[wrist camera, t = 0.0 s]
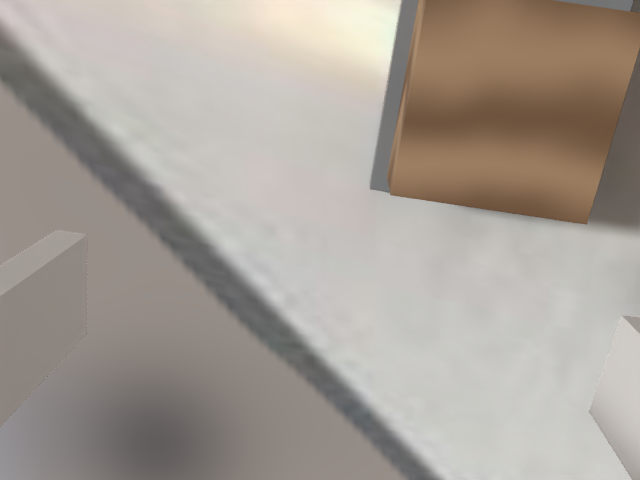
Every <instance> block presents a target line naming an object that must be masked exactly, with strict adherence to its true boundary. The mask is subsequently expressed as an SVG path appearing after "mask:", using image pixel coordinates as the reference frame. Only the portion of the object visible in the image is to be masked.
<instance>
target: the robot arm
mask: <svg viewBox="0 0 640 480" xmlns="http://www.w3.org/2000/svg"><path fill="white" fill-rule="evenodd" d="M87 251H88V235H87V234H81V233H74V232H67V231H61V230H56V231H54V232H53V233H51V234H49V235H48V236H46V237H45V238H43V239H41V240H40V241H38V242H36V243H35V244H33V245H32V246H30V247H28V248H27V249H25V250H24V251H22V252H20V253H19V254H17V255H15V256H14V257H12V258H11V259H9V260H7V261H6V262H4V263H3V264H1V265H0V427H1V426H2V425H3V423H4V422H5V421H6V420H7V419H8V418H9V417H10V416H11V415H12V414H13V413H14V412H15V411H16V410H17V408H18V407H19V406H20V405H21V404H22V403H23V402H24V401H25V400H26V399H27V398H28V397H29V396H30V395H31V393H32V392H33V391H34V390H35V389H36V388H37V387H38V386H39V385H40V384H41V383H42V382H43V381H44V379H45V378H46V377H47V376H48V375H49V374H50V373H51V372H52V371H53V370H54V368H55V367H57V365H58V364H59V363H60V362H61V361H62V360H63V359H64V358H65V357H66V356H67V355H68V354H69V353H70V352H71V350H72V349H73V348H74V347H75V346H76V345H77V344H78V343H79V342H80V341H81V340H82V339H83V338H84V337H85V335H86V334H87V253H88V252H87ZM589 412H590V414H591V415H592V417H593V418H594V420H595V422H596V423H597V425H598V426H599V428H600V430H601V431H602V433H603V434H604V436H605V437H606V439H607V441H608V442H609V444H610V445H611V447H612V449H613V450H614V452H615V453H616V455H617V456H618V458H619V460H620V461H621V463H622V464H623V466H624V468H625V469H626V471H627V472H628V474H629V475H630V477H631V479H632V480H640V318H637V317H630V316H623V315H621V318H620V321H619V324H618V327H617V330H616V333H615V336H614V339H613V342H612V345H611V348H610V350H609V353H608V356H607V359H606V362H605V365H604V368H603V371H602V374H601V377H600V380H599V383H598V386H597V389H596V392H595V395H594V398H593V401H592V404H591V407H590V409H589Z"/></svg>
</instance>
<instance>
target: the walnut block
mask: <svg viewBox="0 0 640 480" xmlns="http://www.w3.org/2000/svg"><path fill="white" fill-rule="evenodd" d="M639 49H640V13H638V12H631V11H624V10H617V9H610V8H603V7H596V6H589V5H582V4H575V3H568V2H561V1H555V0H418V5H417V11H416V16H415V22H414V27H413V33H412V39H411V44H410V50H409V55H408V61H407V67H406V72H405V78H404V83H403V89H402V95H401V100H400V106H399V111H398V117H397V123H396V128H395V134H394V139H393V145H392V150H391V156H390V162H389V167H388V173H387V181H388V185H389V190H390V194H391V195H393V196H400V197H407V198H414V199H420V200H427V201H434V202H440V203H447V204H454V205H460V206H467V207H474V208H481V209H487V210H494V211H501V212H507V213H514V214H521V215H527V216H534V217H541V218H548V219H554V220H561V221H568V222H574V223H581V224H587V222H588V218H589V215H590V212H591V208H592V205H593V202H594V198H595V195H596V192H597V188H598V185H599V182H600V178H601V175H602V172H603V168H604V165H605V162H606V158H607V155H608V152H609V148H610V145H611V142H612V138H613V135H614V132H615V128H616V125H617V122H618V118H619V115H620V112H621V108H622V105H623V102H624V99H625V95H626V92H627V89H628V85H629V82H630V79H631V75H632V72H633V69H634V65H635V62H636V59H637V55H638V52H639Z"/></svg>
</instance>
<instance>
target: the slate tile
mask: <svg viewBox="0 0 640 480" xmlns="http://www.w3.org/2000/svg"><path fill="white" fill-rule="evenodd" d="M555 1H561V2H568V3H575V4H582V5H589V6H596V7H603V8H610V9H617V10H624V11H631V7H632V4H633V0H555ZM417 5H418V0H401V3H400V9H399V15H398V21H397V27H396V33H395V39H394V45H393V51H392V56H391V62H390V68H389V74H388V80H387V86H386V92H385V98H384V103H383V109H382V115H381V121H380V127H379V133H378V139H377V145H376V151H375V156H374V162H373V168H372V174H371V180H370V189H372V190H379V191H385V192H390V190H389V185H388V181H387V173H388V167H389V162H390V156H391V150H392V145H393V139H394V134H395V128H396V123H397V117H398V111H399V106H400V100H401V95H402V89H403V83H404V78H405V72H406V67H407V61H408V55H409V50H410V44H411V39H412V33H413V27H414V22H415V16H416V11H417Z"/></svg>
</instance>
